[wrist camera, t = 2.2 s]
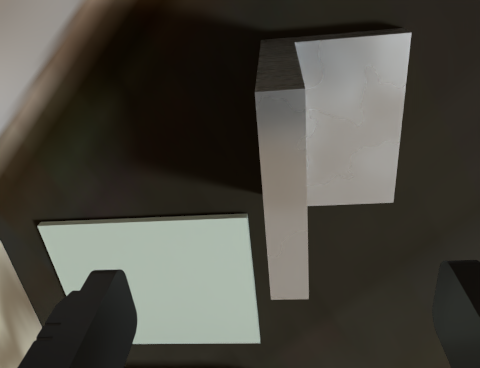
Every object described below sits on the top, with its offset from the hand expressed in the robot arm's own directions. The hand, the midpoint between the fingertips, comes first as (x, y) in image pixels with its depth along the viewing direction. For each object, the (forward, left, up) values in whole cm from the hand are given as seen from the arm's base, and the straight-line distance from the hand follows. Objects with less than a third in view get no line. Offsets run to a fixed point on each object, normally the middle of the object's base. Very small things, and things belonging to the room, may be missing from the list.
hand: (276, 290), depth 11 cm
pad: (+10, -8, -11) cm, 16 cm away
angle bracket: (0, +3, -11) cm, 11 cm away
